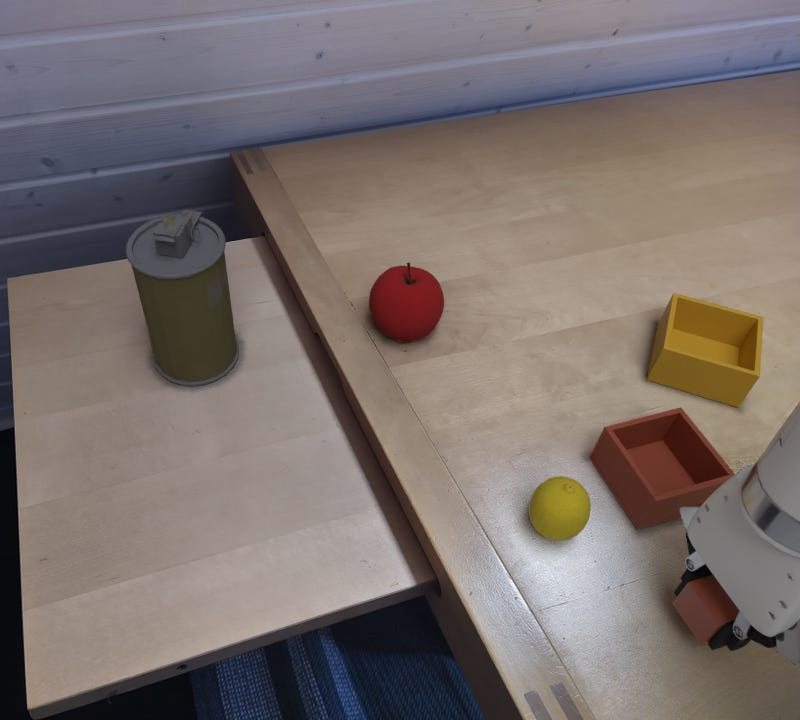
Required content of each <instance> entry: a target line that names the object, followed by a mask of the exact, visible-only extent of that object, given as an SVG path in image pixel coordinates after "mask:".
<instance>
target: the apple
mask: <svg viewBox="0 0 800 720" xmlns="http://www.w3.org/2000/svg"><path fill="white" fill-rule="evenodd" d="M374 281H375V282H374V283H373V285H372V287H371V289H370V292H369V297H368V308H369V312H370V316H371V318H372V321H373V322H374V324H375V326H376V327H377V329H378V330H379V331H380V332H381V333H382V334H384V335H385V336H387V337H388V338H390V339H393V340H396V341H398V342H401V343H411V342H415V341H419V340H421V339H423V338H426V337H427V336H428V335H429V334H431V333H432V332H433V331H434V330H435V329H436V327H437V325H438V324H439V322H440V320H441V318H442V315H443V313H444V308H445V296H444V291H443V289H442V286H441V284H440V282H439V280H438V279H437V278H436V276H434V275H433V273H431V272H429V271H428V270H426V269H423V268H422V267H417V266H411V262H406V265H396V266H391V267H389V268H388V269H386V270H384V272H382V273H381V274H380V275H378V277H377V278H376V280H374Z"/></svg>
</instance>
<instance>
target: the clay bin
mask: <svg viewBox="0 0 800 720" xmlns="http://www.w3.org/2000/svg"><path fill="white" fill-rule="evenodd" d="M589 460H590V461H591V462H592V464H593V466H594V467H595V468H596V470H597V471H598V473H599V474H600V476H601V477H602V479H603V481H604V482H605V484H606V485H607V487H608V488H609V490H610V491H611V493H612V495H613V496H614V497H615V500H617V502H618V504H619V505H620V506H621V508H622V509H623V511H624V512H625V514H626V516H627V518H628V519H629V520H630V522H631V523H632V525H633V526H634V528H635V530H636V531H639V530H642V529H645V528H649V527H652V526H656V525H659V524H662V523H666V522H670V521H674V520H677V519H679V518H681V514H680V511H679V509H680V507H683V506H686V505H690V504H693V503H704V502H705V501H706V500H707V498H708V497H709V496H710V495H711V494H712V493H713V492H714V491H715V490H717V489H718V488H719V487H720V486H721V485H722V484H723V483H725V482H726V481H727V480H728V479H729V478H731V477H732V476H733V475H735V474H736V473H735V472H734V471H733V470H732V468H731V467H730V466H729V465H728V463H727V462H726V461H725V460H724V458H723V457H722V456H721V455H720V454H719V452H718V451H717V450H716V449H715V447H714V446H713V445H712V444H711V442H710V441H709V440H708V439H707V437H706V436H705V435H704V433H703V432H702V431H701V430H700V429H699V427H698V426H697V425H696V424H695V422H694V421H693V420H692V419H691V417H690V416H689V415H688V414H687V412H685V410H684V409H683V407H681V406H679V407H676V408H672V409H669V410H665V411H660V412H657V413H653V414H648V415H644V416H641V417H638V418H634V419H630V420H626V421H622V422H617V423H615V424H610V425H606V426H604V427H603V429H602V431H601V433H600V435H599V437H598V439H597V441H596V443H595V445H594V447H593V449H592V450H591V454H590V455H589Z"/></svg>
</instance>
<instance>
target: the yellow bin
mask: <svg viewBox="0 0 800 720" xmlns="http://www.w3.org/2000/svg"><path fill="white" fill-rule="evenodd" d="M656 325H657V326H656V330H655V336H654V341H653V345H652V352H651V356H650V361H649V365H648V366H649V367H648V372H647V376H646V381H649V382H653V383H656V384H659V385H663V386H665V387H669V388H673V389H676V390H679V391H682V392H685V393H688V394H692V395H694V396H699V397H702V398H705V399H708V400H712V401H715V402H718V403H720V404H721V403H722V404H723V405H724V404H725V405H728V406H731V407H734V408H739V407H740V406H741V404H742V403H743V401H744V400H745V399H746V397H747V396H748V394H749V393H750V392H751V390H752V389H753V387H754V386H755V385H756V383H757V382H758V380H759V379H760V377H761V369H762V368H761V367H762V366H761V365H762V351H763V349H762V348H763V332H764V331H763V330H764V316H761V315H757V314H752V313H749V312H746V311H742V310H739V309H735V308H731V307H728V306H723V305H721V304H716V303H712V302H710V301H705V300H701V299H698V298H695V297H690V296H687V295H683V294H679V293H676V292H673V293H672V295H671V297H670V299H669V301H668V303H667V305H666V307H665V309H664V311H663V313H662V314H661V317H660V319H659V322H658V323H657V324H656Z"/></svg>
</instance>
